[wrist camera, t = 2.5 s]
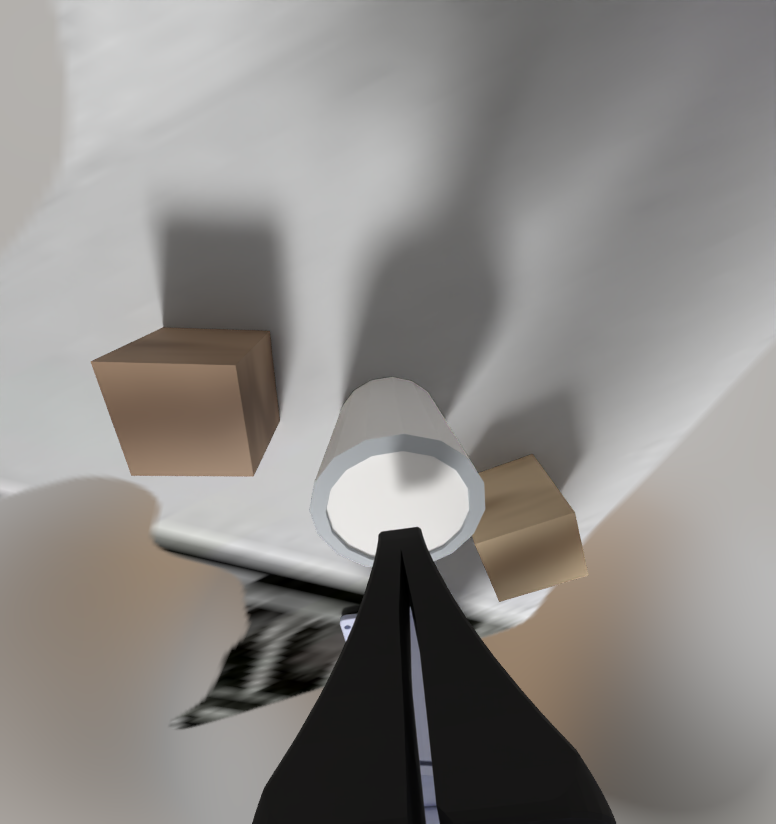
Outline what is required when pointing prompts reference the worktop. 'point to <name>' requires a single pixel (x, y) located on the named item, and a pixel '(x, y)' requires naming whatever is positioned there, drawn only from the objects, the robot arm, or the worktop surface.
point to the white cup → (394, 474)
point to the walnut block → (192, 401)
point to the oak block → (527, 531)
